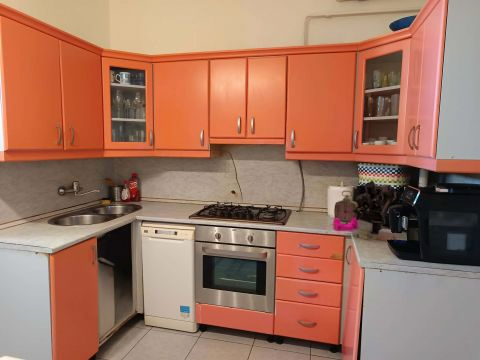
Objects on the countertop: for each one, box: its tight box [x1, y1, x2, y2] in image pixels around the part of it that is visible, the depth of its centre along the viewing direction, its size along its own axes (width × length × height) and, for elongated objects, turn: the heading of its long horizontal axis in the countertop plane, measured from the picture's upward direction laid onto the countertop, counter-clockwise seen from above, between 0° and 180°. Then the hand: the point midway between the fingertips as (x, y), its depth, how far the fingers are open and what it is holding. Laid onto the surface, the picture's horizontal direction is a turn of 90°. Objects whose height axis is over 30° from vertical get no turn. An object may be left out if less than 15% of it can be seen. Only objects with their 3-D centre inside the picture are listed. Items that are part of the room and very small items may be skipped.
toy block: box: [333, 217, 359, 232], centre depth 210 cm, size 15×6×8 cm, turn 93°
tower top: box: [377, 228, 396, 238], centre depth 186 cm, size 7×7×3 cm
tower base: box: [375, 234, 398, 243], centre depth 186 cm, size 9×9×3 cm
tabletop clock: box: [333, 190, 359, 225], centre depth 219 cm, size 14×9×25 cm, turn 56°
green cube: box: [358, 229, 371, 240], centre depth 189 cm, size 4×4×4 cm
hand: (362, 217), depth 184 cm, fingers open, 9 cm apart
